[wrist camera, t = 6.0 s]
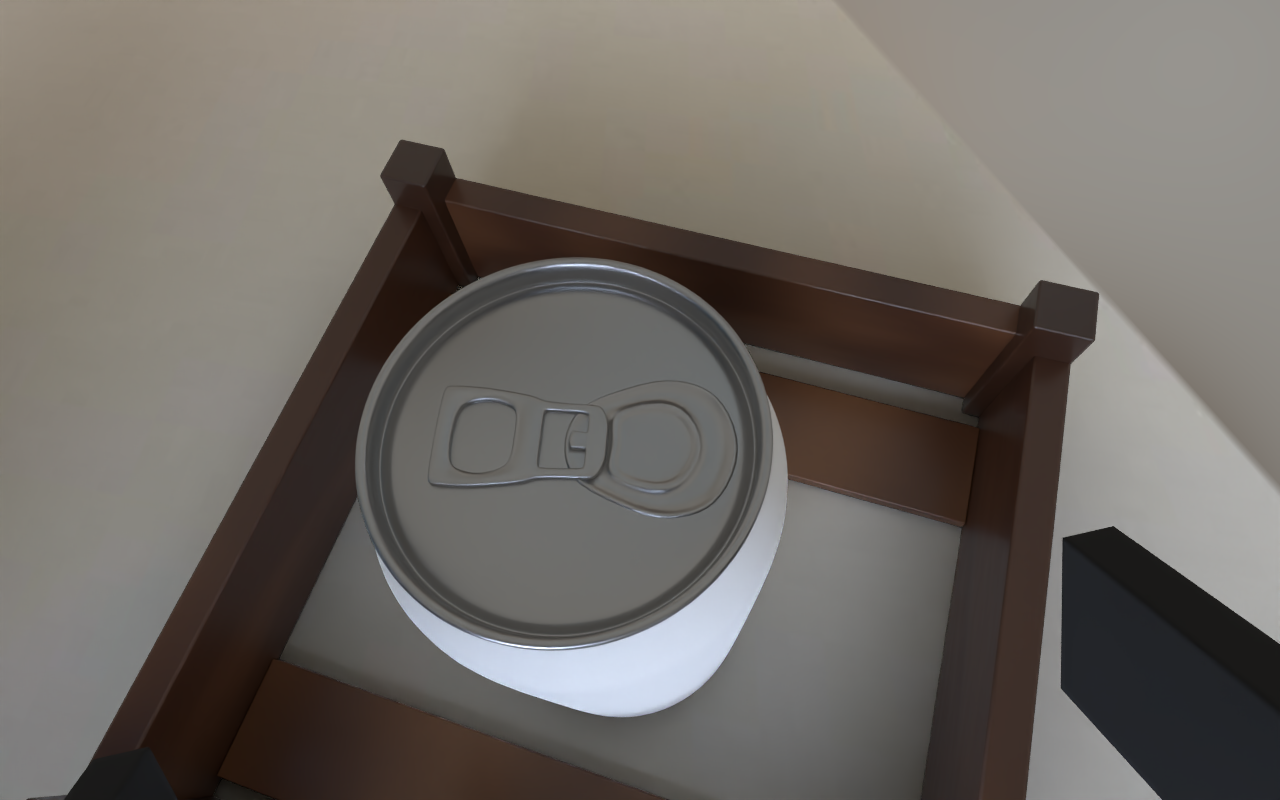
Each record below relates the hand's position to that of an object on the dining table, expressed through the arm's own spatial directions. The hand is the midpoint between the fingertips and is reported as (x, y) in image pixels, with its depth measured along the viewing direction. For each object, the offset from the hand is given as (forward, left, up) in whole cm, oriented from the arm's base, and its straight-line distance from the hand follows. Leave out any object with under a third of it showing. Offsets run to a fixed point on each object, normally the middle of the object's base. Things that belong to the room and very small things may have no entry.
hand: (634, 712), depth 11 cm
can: (-2, +3, -10) cm, 10 cm away
